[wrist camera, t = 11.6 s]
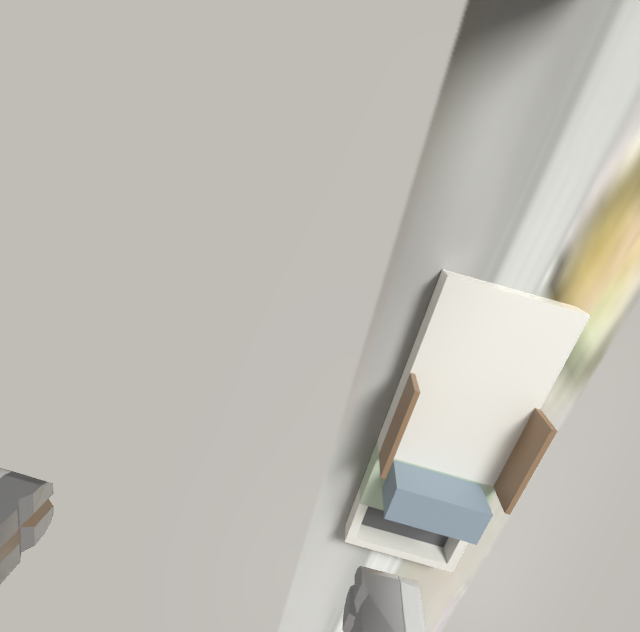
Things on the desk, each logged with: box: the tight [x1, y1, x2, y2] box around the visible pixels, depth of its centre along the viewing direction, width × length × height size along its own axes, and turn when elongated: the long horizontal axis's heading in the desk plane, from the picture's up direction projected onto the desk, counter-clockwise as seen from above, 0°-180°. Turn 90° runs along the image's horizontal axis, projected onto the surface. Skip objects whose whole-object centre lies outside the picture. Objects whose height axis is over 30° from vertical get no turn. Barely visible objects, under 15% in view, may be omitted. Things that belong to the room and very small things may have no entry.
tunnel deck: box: [345, 269, 591, 572], centre depth 40 cm, size 33×13×6 cm, turn 165°
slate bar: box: [382, 460, 493, 545], centre depth 40 cm, size 4×10×4 cm, turn 75°
